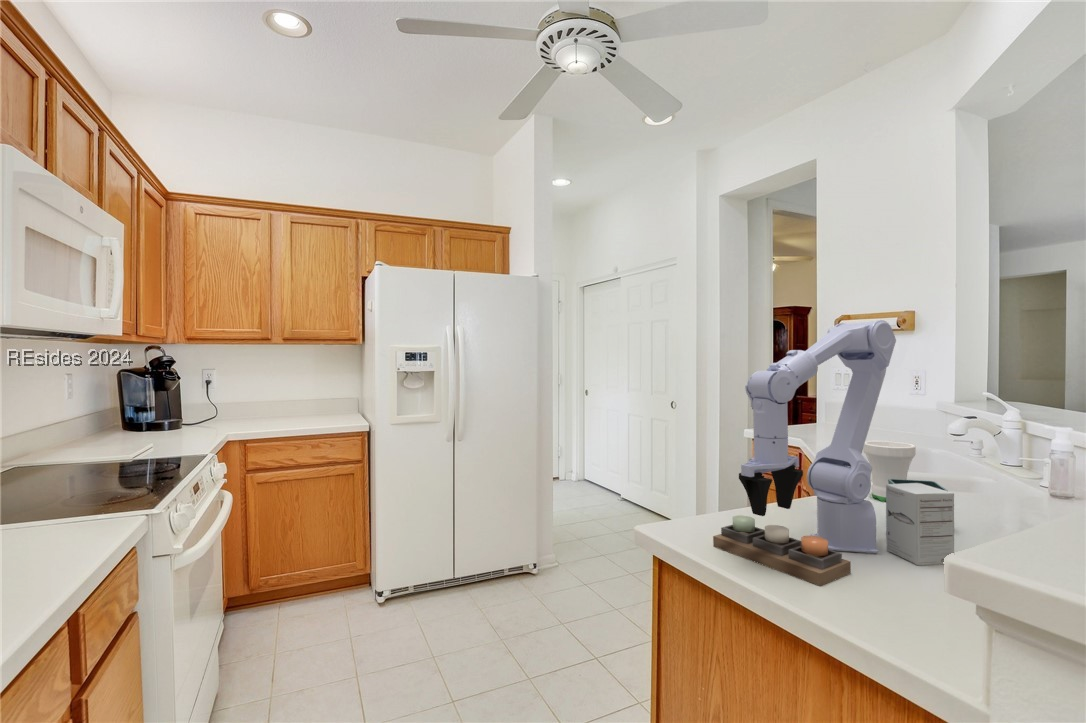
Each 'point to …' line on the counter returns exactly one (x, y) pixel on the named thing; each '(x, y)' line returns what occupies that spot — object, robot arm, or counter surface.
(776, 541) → the cream button
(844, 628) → the counter surface
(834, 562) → the button board
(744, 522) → the sage button
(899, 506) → the supplement box
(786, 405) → the robot arm
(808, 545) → the terracotta button
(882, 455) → the cup
